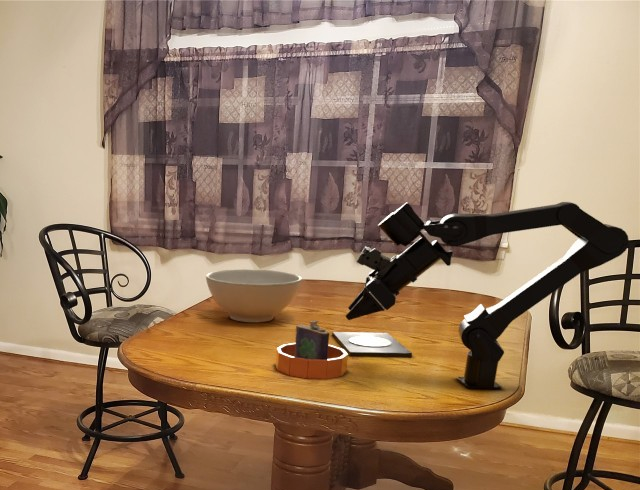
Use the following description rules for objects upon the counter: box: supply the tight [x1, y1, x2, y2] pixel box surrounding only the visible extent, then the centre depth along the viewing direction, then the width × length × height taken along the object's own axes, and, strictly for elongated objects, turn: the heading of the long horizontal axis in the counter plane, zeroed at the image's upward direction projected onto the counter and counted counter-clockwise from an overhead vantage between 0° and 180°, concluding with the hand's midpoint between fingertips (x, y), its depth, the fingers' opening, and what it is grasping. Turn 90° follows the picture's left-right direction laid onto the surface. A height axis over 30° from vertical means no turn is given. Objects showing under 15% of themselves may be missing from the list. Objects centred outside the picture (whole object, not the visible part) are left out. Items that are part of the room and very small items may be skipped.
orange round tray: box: [274, 342, 349, 380], centre depth 149 cm, size 15×15×4 cm
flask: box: [294, 320, 330, 359], centre depth 148 cm, size 9×3×11 cm, turn 28°
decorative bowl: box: [205, 268, 303, 323], centre depth 197 cm, size 27×27×12 cm
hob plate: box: [331, 331, 413, 358], centre depth 168 cm, size 20×14×1 cm
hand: (348, 313), depth 144 cm, fingers open, 9 cm apart
